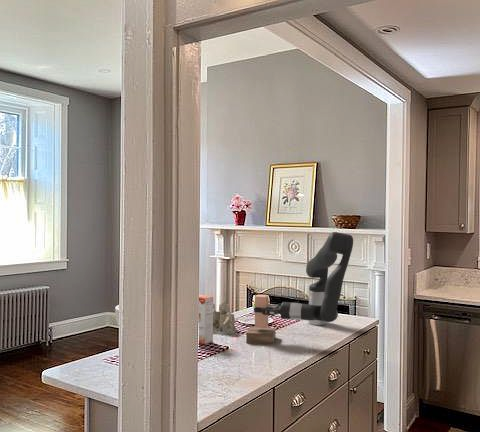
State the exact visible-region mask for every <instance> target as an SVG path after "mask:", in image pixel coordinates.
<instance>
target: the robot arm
mask: <svg viewBox="0 0 480 432" xmlns="http://www.w3.org/2000/svg"><path fill="white" fill-rule="evenodd" d="M353 247H354V238H353V235H351V234H348V233H343V232H338V231H331V233H329V234H328V237H327V238H326V240H325V242H324V244H323V245H322V247H321V248H320V249H319V250H318V252H317V253H316V254H315V255H314V257H313V258H311V259H310V260H309V261H308V262H307V263H306V267H305V273H306V275H307V277H309V278H312V279H318V280H317V281H316V282H314V283H311V284H310V285H309V287H308V303H300V302H299V303H298V302H289V301H282V303H281V304H276V303H275V304H273V303H268V307H267V308H264V307H263V308H260V307H255V306H254V308H253V313H255V312H259V313H262V314H263V315H268V316H272V317H273V316H278V315H280V318H281V319H283V320H291V321H292V320H295V321H308V324H310V325H312V326H313V325H314V326H325V325H326V324H327V323H333V322H334V321H336V320H337V318H338V317H339V312H338V305H339V301H340V299H341V293H342V289H343V282H344V278H345V275H346V272H347V269H348V265H349V262H350V257H351V255H352V251H353ZM338 254H340V255H342V256H341V259H340V261H339V263H338V264H337V266H336V267H335V268H334V269H333V270H332V271H331V273H330V274H329V268H331V266H333V265H334V264H335V262H336V261H337V260H338ZM328 274H329V275H328ZM265 310H266V311H267V312H265Z"/></svg>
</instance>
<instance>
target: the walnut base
mask: <svg viewBox="0 0 480 432" xmlns="http://www.w3.org/2000/svg"><path fill="white" fill-rule="evenodd" d="M245 334H246V341H245V342H246V344H251V345H253V344H255V345H271V346H273V345H274V343H275V340H276V334H277V333H276V327H269V326H267V327H266V328H261V327H255V326H249V328H247V332H246V333H245Z"/></svg>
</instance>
